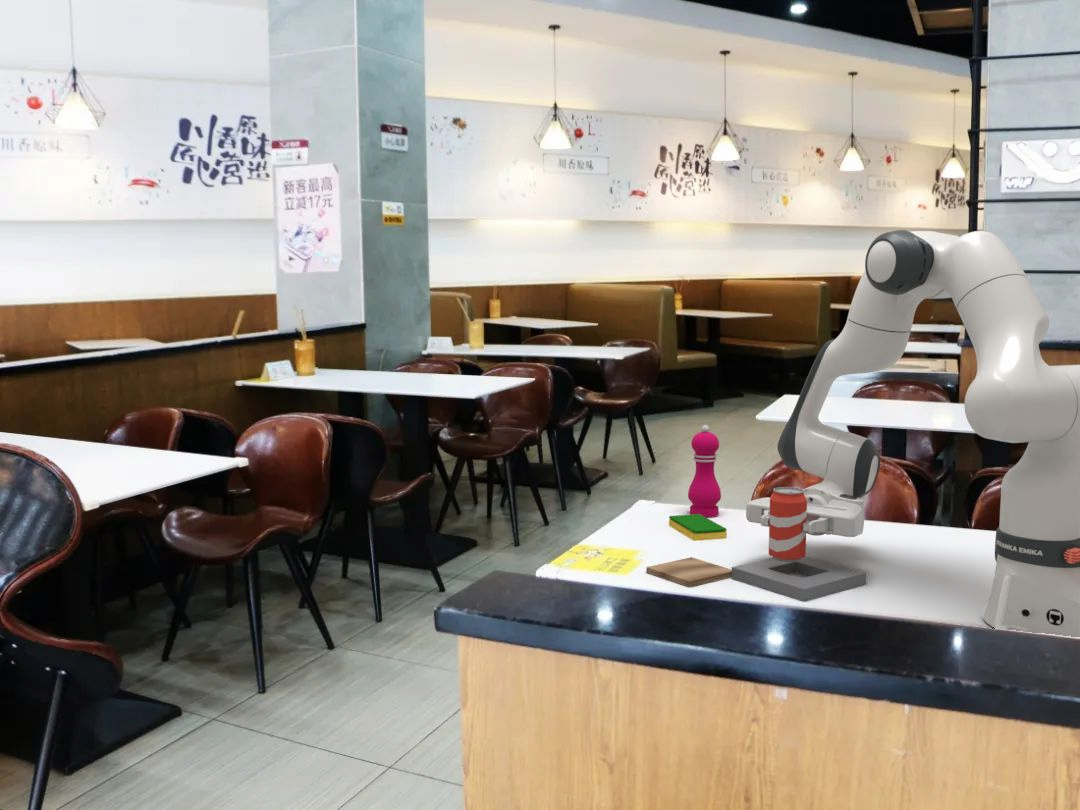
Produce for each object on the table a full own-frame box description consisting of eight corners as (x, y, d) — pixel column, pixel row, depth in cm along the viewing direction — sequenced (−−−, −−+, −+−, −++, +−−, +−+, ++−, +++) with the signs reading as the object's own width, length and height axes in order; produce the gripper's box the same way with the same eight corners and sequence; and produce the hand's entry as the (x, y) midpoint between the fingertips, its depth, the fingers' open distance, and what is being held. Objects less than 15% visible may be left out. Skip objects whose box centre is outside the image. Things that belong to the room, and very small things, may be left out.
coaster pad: (735, 576, 181) (735, 570, 181) (689, 587, 175) (689, 581, 175) (691, 562, 190) (691, 557, 190) (646, 572, 184) (646, 567, 184)
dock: (866, 583, 176) (866, 572, 176) (803, 601, 167) (804, 589, 167) (792, 563, 189) (793, 552, 189) (731, 578, 180) (731, 567, 180)
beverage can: (761, 558, 178) (762, 490, 177) (781, 551, 183) (783, 484, 181) (792, 565, 174) (793, 495, 172) (812, 557, 178) (814, 489, 177)
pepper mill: (720, 518, 224) (721, 427, 222) (686, 517, 226) (687, 427, 223) (721, 511, 231) (722, 423, 229) (688, 510, 233) (689, 422, 230)
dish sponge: (694, 542, 206) (694, 530, 206) (668, 526, 219) (668, 515, 219) (727, 540, 208) (727, 528, 208) (699, 524, 221) (699, 513, 221)
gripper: (764, 486, 194) (730, 499, 183) (872, 500, 181) (843, 514, 170) (764, 519, 194) (730, 534, 184) (871, 535, 182) (841, 552, 171)
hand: (785, 525), depth 177 cm, fingers closed on beverage can, 6 cm apart
